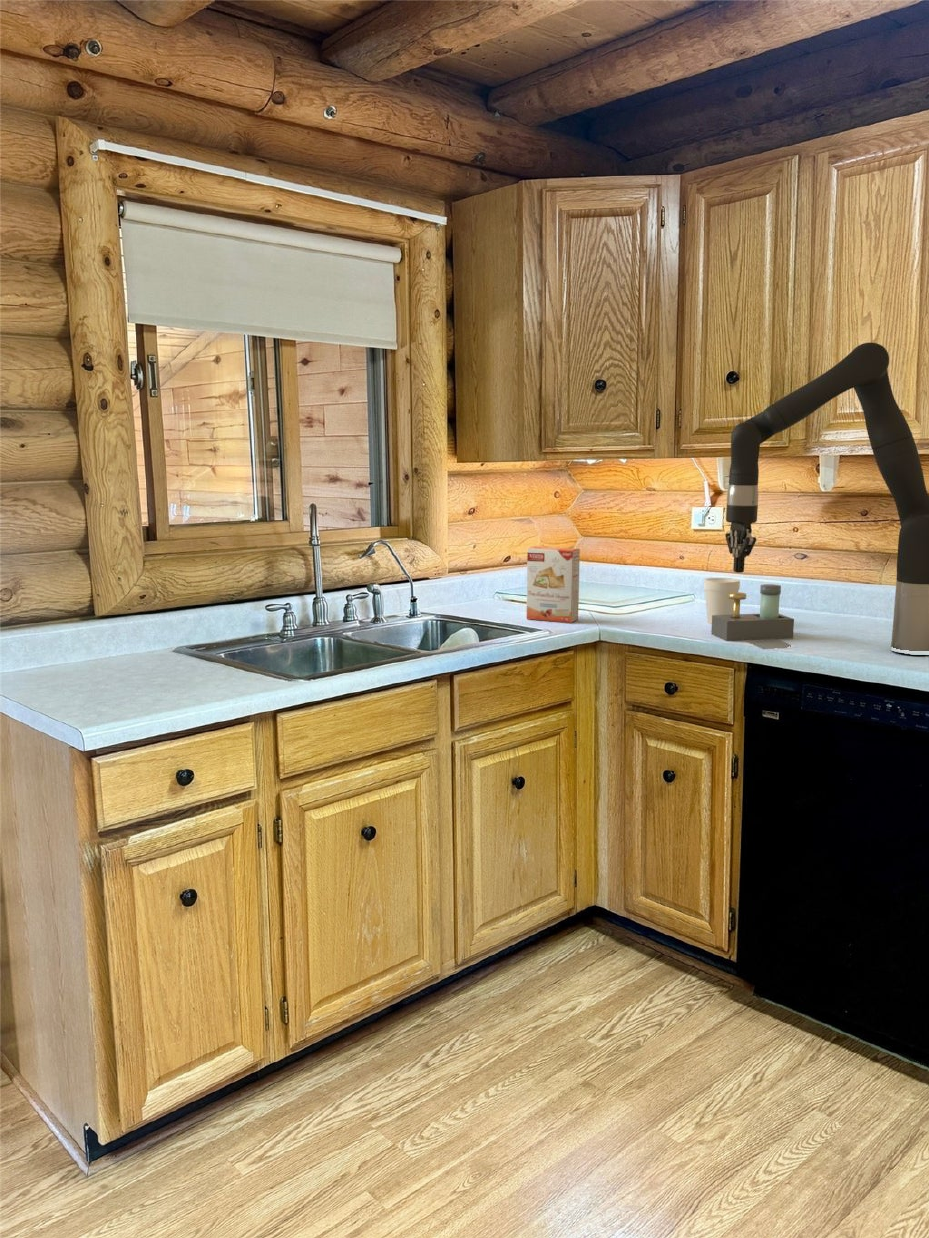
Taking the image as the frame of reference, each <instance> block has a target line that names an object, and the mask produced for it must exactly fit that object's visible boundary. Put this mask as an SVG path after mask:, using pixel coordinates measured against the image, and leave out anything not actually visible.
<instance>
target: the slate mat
mask: <svg viewBox="0 0 929 1238" xmlns="http://www.w3.org/2000/svg"><path fill="white" fill-rule="evenodd" d="M745 642H746V643H747V644H751V645H752V644H753V646H754V647H757V648H760V649H761V650H769V649H770V650H775V648H777V649H788V648H787V647H789V646H790V647H791V645H792V644H790V643H787V642H785V641H783V640H781V639H770V640H745Z"/></svg>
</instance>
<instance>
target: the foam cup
mask: <svg viewBox="0 0 929 1238" xmlns="http://www.w3.org/2000/svg"><path fill="white" fill-rule="evenodd" d="M740 582H741V580H740V579H737V578H731V577H707V578H704V579H703V589H704V596H705V597H704V599H705V607H706V609H705V610H706V618H707V623H708V624H709V625H712V615H732V614H733V607H734V599H729V598H728V593H731V592H739V591H740V588H741V587H740V586H741V585H740V584H741V583H740Z"/></svg>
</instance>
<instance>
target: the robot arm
mask: <svg viewBox="0 0 929 1238" xmlns="http://www.w3.org/2000/svg"><path fill="white" fill-rule="evenodd" d="M889 355H890V354H889V352H888V351H887V349H886V348H885V347H884V346H883V345H882V344H879V343H877V342H870V341H869V342H863V343H861V344H859V345H857V346H856V347H855V348H854V349H852V351H851V352H850V353H848V354H847V355H846V356H845V357H843V358H842V359H841V360H840V361H839V362H838V363H836V364H835V365H834V366H832V367H831V368H830V369H828V370H827V371H825V372H824V373H822V374H821V375H820V376H818V377H816V378H814V379H813V380H811V381H810V382H807V383H806V384H805V385H803V386H800V387H799V388H797V389H795V390H794V391H792V392H790V393H788V394H787V395H785V396H783V397H782V398H780V399H778V400H777V401H775V402H773V403H771V404H770V405H769V406H767V407H766V408H765V409H763V411H761V412H759V413H757V414H755V415H754V416H752V417H750V418H748V419H746V420H745V421H741V422H740V423H738V424H737V425H736V426H735V427H734V428H733V429H732V431H731V434H730V435H731V436H730V466H729V467H730V468H729V474H728V475H729V477H728V488H727V494H726V507H725V508H726V509H725V510H726V511H725V512H726V513H725V521H726V522H727V523H730V526H729V527H730V528H729V529H730V531H729V532H727V533H725V535H724V536H725V540H726V544H727V548H728V551H729V554H730V555H732V557H733V566H732V567H733V568H732V570H733V572H734V573H739V574H740V573H741V574H742V573H744V572H745V558H746V557H749V556H750V555H751V554H752V551H753V548H754V546H755V543H756V542H757V537H756V536H752V532H753V531H752V524H754V523H757V521H758V508H759V507H758V506H759V476H760V475H759V474H760V472H759V457H760V448H761V445H762V443H764V442H766V441H767V440H769V439H770V438H772V437H773V436H775V435H776V434H779V433H781V432H783V431H785V430H788V429H789V428H791V427H792V426H794V425H796V424H797V423H799V422H801V421H802V420H804V419H805V418H807V417H808V416H810V415H812V414H813V413H814V412H816V411H817V410H819V409H821V407H823V406H824V405H825V404H827V403H829V402H831V400H833V399H834V398H836V397H837V396H840V395H841V394H843V393H845V392H847V391H850V390H852V389H854V392H855V394H856V396H857V398H858V401H859V404H860V406H861V408H862V412H863V416H864V422H865V427H866V431H867V436H868V439H869V442H870V443H869V444H870V447H871V450H872V454H873V456H874V457H873V458H874V459H875V463H876V465H877V468H878V470H879V473H880V475H881V477H882V479H883V481H884V484H885V485H886V486H887V488H888V490H889V492H890V494H891V496H892V498H893V500H894V501H893V502H894V504H895V507H896V511H897V514H898V519H899V523H900V528H899V531H898V532H899V534H898V543H897V557H896V582H895V593H894V594H895V596H894V605H893V607H894V609H893V619H892V630H891V631H892V633H891V644H890V648H891V647H893V648H896V649H900V650H909V651H929V493H928V490H927V488H926V487H927V486H926V483H925V478H924V471H923V466H922V463H921V459H920V454H919V450H918V447H917V445H916V442H915V441H916V440H915V439H914V436H913V433H912V430H911V427H910V426H909V424H908V421H907V419H906V417H905V416H904V414H903V411H901V409H900V407H899V405H898V403H897V401H896V399H895V396H894V394H893V390H892V386H891V385H892V384H891V381H890V376H889V370H888V368H889V365H890V356H889Z"/></svg>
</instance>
